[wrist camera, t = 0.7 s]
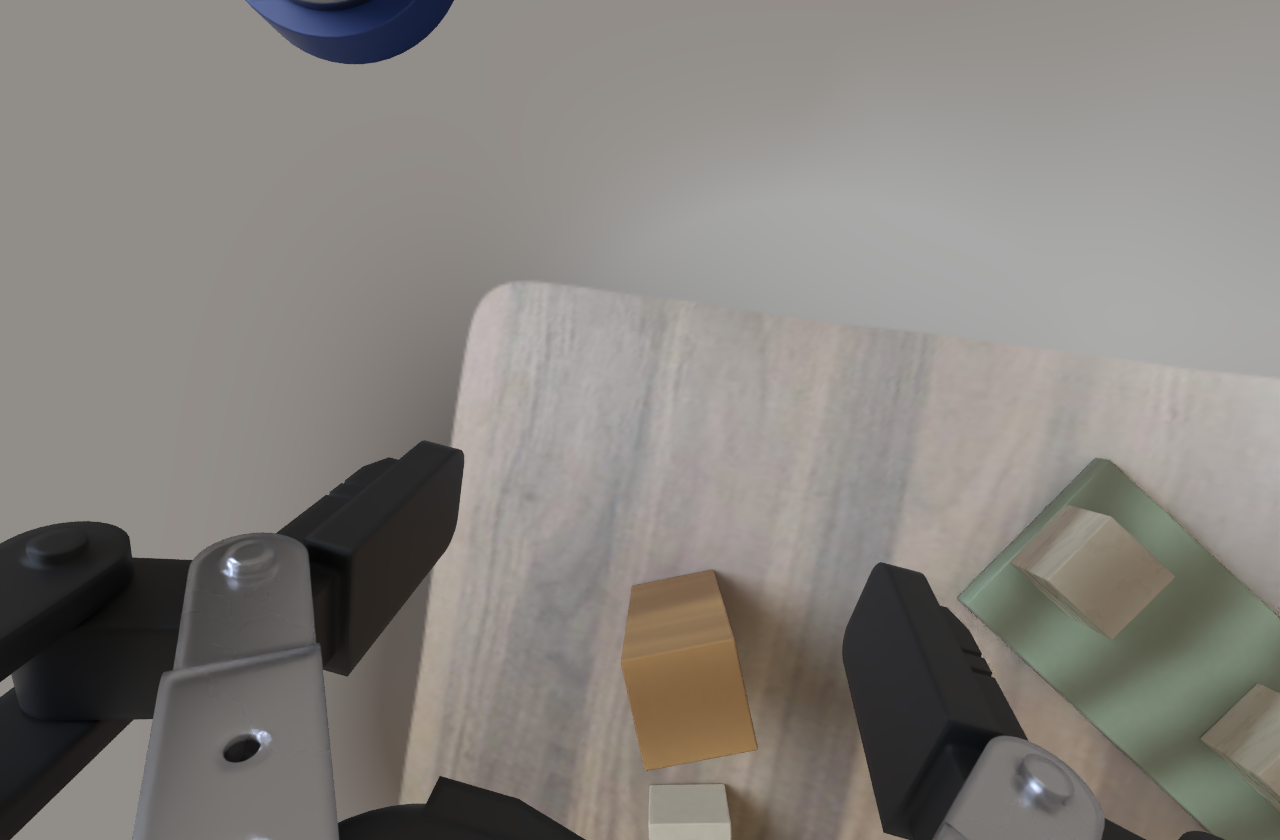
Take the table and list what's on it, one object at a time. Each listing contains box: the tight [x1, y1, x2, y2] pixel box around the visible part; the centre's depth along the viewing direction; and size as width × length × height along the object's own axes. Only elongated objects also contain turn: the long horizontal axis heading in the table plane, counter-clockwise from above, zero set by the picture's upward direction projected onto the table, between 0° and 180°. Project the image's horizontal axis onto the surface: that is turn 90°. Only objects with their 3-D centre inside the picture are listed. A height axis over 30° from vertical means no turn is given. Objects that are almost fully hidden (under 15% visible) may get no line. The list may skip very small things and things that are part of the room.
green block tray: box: [957, 458, 1280, 840], centre depth 29 cm, size 26×10×4 cm, turn 47°
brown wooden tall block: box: [621, 570, 758, 771], centre depth 27 cm, size 4×4×9 cm
